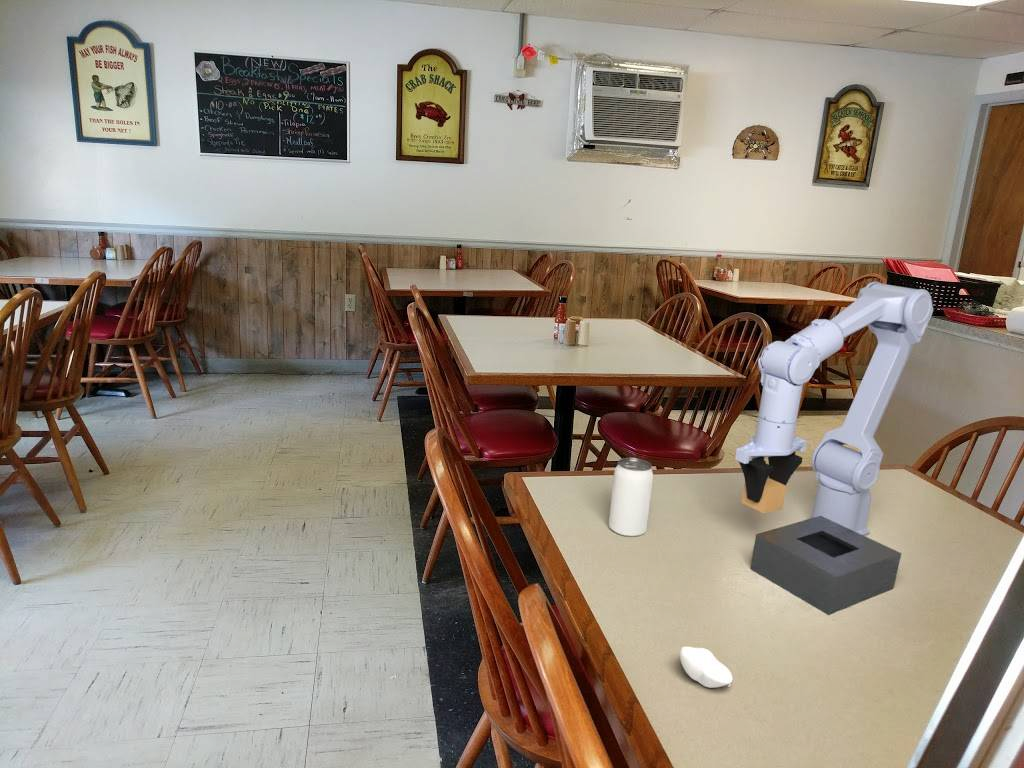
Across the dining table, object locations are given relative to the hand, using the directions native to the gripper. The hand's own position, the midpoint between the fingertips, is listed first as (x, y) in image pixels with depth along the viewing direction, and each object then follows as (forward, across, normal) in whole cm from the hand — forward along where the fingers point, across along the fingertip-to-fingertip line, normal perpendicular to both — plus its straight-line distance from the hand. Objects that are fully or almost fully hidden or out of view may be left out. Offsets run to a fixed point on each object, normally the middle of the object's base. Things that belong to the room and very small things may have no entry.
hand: (763, 497), depth 118 cm
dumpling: (+10, +33, +20) cm, 40 cm away
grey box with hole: (+9, -2, +11) cm, 15 cm away
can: (+10, +15, -15) cm, 23 cm away
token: (+2, 0, 0) cm, 2 cm away
